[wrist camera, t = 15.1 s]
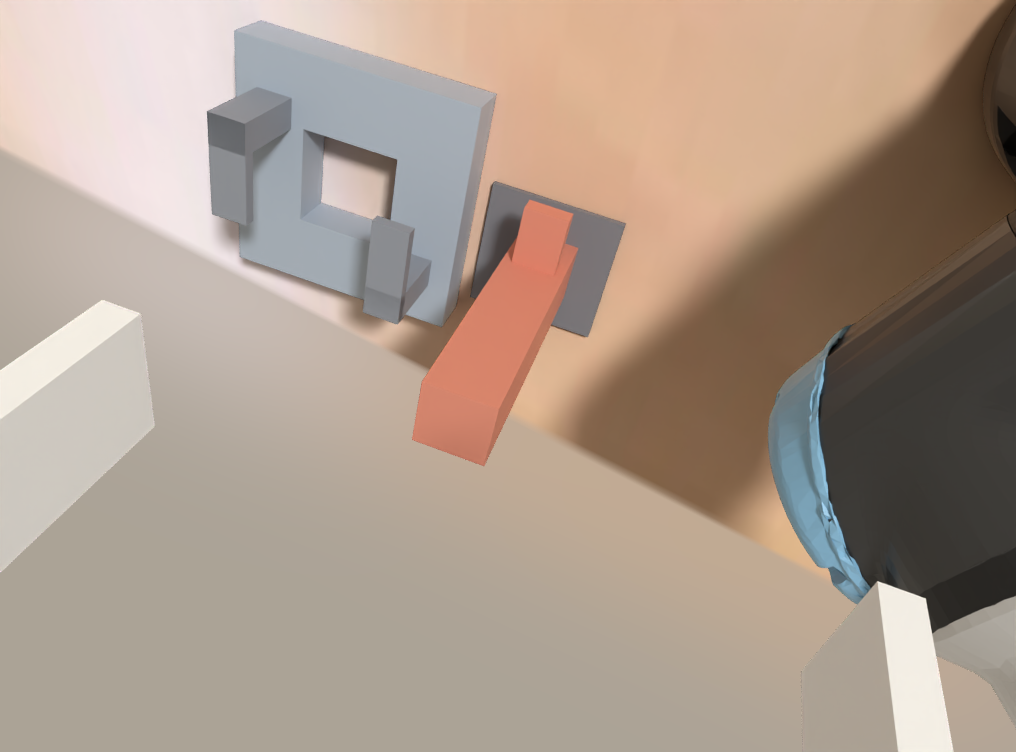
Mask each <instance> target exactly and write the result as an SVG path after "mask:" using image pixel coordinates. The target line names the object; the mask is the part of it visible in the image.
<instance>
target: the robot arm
mask: <svg viewBox="0 0 1016 752" xmlns="http://www.w3.org/2000/svg"><path fill="white" fill-rule="evenodd" d="M983 114H984V122H985V126H986V131H987V134H988V137H989V140H990V142H991V145H992V147H993V149H994V151H995V153H996V155H997V156H998V158H999V160H1000V161H1001V163H1002V164H1003V166H1004V167H1005V169H1006V170H1007V172H1008V173H1009V175H1010V176H1011V177H1012V179H1013V180H1014V181H1015V182H1016V5H1015V7H1014V8H1013V10H1012V11H1011V13H1010V15H1009V16H1008V18H1007V20H1006V22H1005V23H1004V25H1003V27H1002V29H1001V31H1000V33H999V35H998V38H997V40H996V42H995V44H994V47H993V50H992V52H991V55H990V59H989V62H988V66H987V70H986V74H985V80H984V87H983ZM154 426H155V424H154V416H153V408H152V400H151V392H150V385H149V376H148V369H147V360H146V352H145V344H144V336H143V329H142V320H141V314H140V313H137V312H135V311H132V310H129V309H126V308H124V307H121V306H118V305H115V304H112V303H110V302H107V301H104V300H101V301H100V302H99V303H97V304H96V305H94V306H93V307H91V308H90V309H88V310H87V311H85V313H83V314H81V315H80V316H78V317H77V318H75V319H74V320H73V321H71V322H69V323H68V324H67V325H65V326H64V327H62V328H61V329H59V330H58V331H57V332H55V333H54V334H52V335H51V336H49V337H48V338H46V339H45V340H43V341H42V342H41V343H39V344H38V345H36V346H35V347H33V348H32V349H30V350H29V351H27V352H26V353H25V354H23V355H22V356H20V357H19V358H17V359H16V360H14V361H13V362H12V363H10V364H9V365H7V366H6V367H4V368H3V369H1V370H0V572H1V571H3V570H4V569H5V568H6V567H7V566H8V565H9V564H10V563H11V562H12V561H13V560H14V559H15V558H16V557H17V556H18V555H19V554H20V553H21V552H22V551H24V550H25V548H27V547H28V546H29V545H30V544H31V543H32V542H33V541H34V540H35V539H36V538H37V537H38V536H39V535H40V534H42V533H43V532H44V531H45V530H46V529H47V528H48V527H49V526H50V525H51V524H52V523H53V522H54V521H55V520H56V519H57V518H58V517H59V516H61V515H62V514H63V513H64V512H65V511H66V510H67V509H68V508H69V507H70V506H71V505H72V504H73V503H74V502H75V501H76V500H77V499H78V498H79V497H80V496H81V495H83V494H84V493H85V492H86V491H87V490H88V489H89V488H90V487H91V486H92V485H93V484H94V483H95V482H96V481H97V480H98V479H99V478H101V477H102V476H103V475H104V474H105V472H107V471H108V470H109V469H110V468H111V467H112V466H113V465H114V464H115V463H116V462H117V461H118V460H120V458H122V456H124V455H125V454H126V453H127V452H128V451H129V450H130V449H131V448H132V447H133V446H134V445H135V444H136V443H137V442H139V441H140V439H142V438H143V437H144V436H145V435H146V434H147V433H148V432H149V431H150V430H151V429H152V428H153V427H154ZM768 449H769V457H770V464H771V469H772V473H773V477H774V481H775V484H776V487H777V491H778V494H779V496H780V499H781V502H782V505H783V507H784V510H785V512H786V514H787V517H788V519H789V521H790V523H791V525H792V527H793V529H794V531H795V533H796V534H797V536H798V538H799V540H800V542H801V543H802V545H803V546H804V548H805V550H806V551H807V553H808V554H809V555H810V557H811V558H812V559H813V561H814V562H815V564H816V565H817V566H818V567H821V568H828V569H829V572H830V575H831V580H832V583H833V585H834V586H835V587H836V588H837V589H838V590H839V591H840V592H841V593H842V594H844V595H845V596H846V597H847V598H848V599H850V600H851V601H852V602H854V603H856V604H857V606H856V607H855V608H854V609H853V611H852V612H851V613H850V614H849V615H848V616H847V618H846V619H845V620H844V621H843V622H842V624H841V625H840V626H839V627H838V628H837V629H836V631H835V632H834V633H833V634H832V635H831V637H830V638H829V639H828V640H827V641H826V643H825V644H824V645H823V646H822V647H821V648H820V650H819V651H818V652H817V653H816V654H815V656H814V657H813V658H812V659H811V660H810V661H809V663H808V664H807V665H806V666H805V668H804V669H803V670H802V671H801V690H802V691H801V693H802V745H803V752H953V746H952V741H951V735H950V730H949V724H948V719H947V713H946V709H945V702H944V697H943V692H942V686H941V680H940V675H939V670H938V664H937V658H936V656H937V657H940V658H942V659H944V660H946V661H949V662H951V663H953V664H956V665H958V666H960V667H962V668H965V669H967V670H969V671H972V672H974V673H975V674H977V675H978V676H980V677H981V678H982V679H984V680H985V681H987V682H988V683H989V684H991V686H992V688H993V690H994V691H995V693H996V695H997V696H998V698H999V700H1000V702H1001V703H1002V705H1003V707H1004V709H1005V710H1006V712H1007V714H1008V716H1009V717H1010V719H1011V721H1012V722H1013V724H1014V726H1015V728H1016V210H1015V211H1013V212H1012V213H1010V214H1008V215H1007V216H1005V217H1004V218H1003V219H1001V220H1000V221H998V222H997V223H996V224H994V225H993V226H991V227H990V228H989V229H987V230H986V231H984V232H983V233H982V234H980V235H979V236H977V237H976V238H975V239H973V240H972V241H970V242H969V243H968V244H966V245H965V246H963V247H962V248H961V249H959V250H958V251H956V252H955V253H954V254H952V255H951V256H949V257H948V258H947V259H945V260H944V261H942V262H941V263H940V264H938V265H937V266H935V267H934V268H933V269H931V270H930V271H928V272H927V273H926V274H924V275H923V276H921V277H920V278H919V279H917V280H916V281H914V282H913V283H912V284H910V285H909V286H907V287H906V288H905V289H903V290H902V291H900V292H899V293H898V294H896V295H895V296H893V297H892V298H891V299H889V300H888V301H886V302H885V303H884V304H882V305H881V306H879V307H878V308H877V309H875V310H874V311H872V312H871V313H869V314H868V315H867V316H865V317H864V318H862V319H861V320H860V321H858V322H857V323H855V324H853V325H849V326H845V327H844V328H842V329H841V330H840V331H838V332H837V333H836V334H835V335H834V336H833V337H832V338H831V339H830V340H829V341H828V343H827V344H826V346H825V348H824V349H823V350H822V351H821V352H819V353H818V354H817V355H816V356H814V357H813V358H812V359H811V360H809V361H808V362H807V363H806V364H804V365H803V366H802V367H801V368H799V369H798V370H797V371H796V372H794V373H793V374H792V375H791V376H790V377H789V378H788V379H787V380H786V381H785V383H784V384H783V385H782V387H781V388H780V390H779V391H778V393H777V396H776V400H775V405H774V407H773V409H772V412H771V414H770V418H769V425H768Z"/></svg>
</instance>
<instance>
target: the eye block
mask: <svg viewBox="0 0 1016 752" xmlns="http://www.w3.org/2000/svg"><path fill="white" fill-rule="evenodd" d="M234 39H235V80H236V97H235V98H233V99H231V100H229V101H227V102H225V103H223V104H221V105H219V106H217V107H215V108H213V109H211V110H209V111H207V122H208V143H209V163H210V184H211V204H212V214H213V215H216V216H219V217H222V218H225V219H228V220H231V221H234V222H237V223H239V245H240V257H242V258H245V259H248V260H250V261H253V262H256V263H259V264H262V265H265V266H268V267H271V268H273V269H276V270H279V271H282V272H285V273H288V274H291V275H293V276H296V277H299V278H302V279H305V280H308V281H311V282H314V283H316V284H319V285H322V286H325V287H328V288H331V289H334V290H336V291H339V292H342V293H345V294H348V295H351V296H354V297H357V298H359V299H362V300H364V306H363V313H366V314H369V315H372V316H375V317H377V318H380V319H383V320H386V321H389V322H392V323H395V324H398V323H399V322H400V321H401V319H402V318H403V317H404V316H405V315H408V316H411V317H414V318H417V319H420V320H423V321H425V322H428V323H431V324H434V325H437V326H440V327H442V326H443V325H444V323H445V322H446V320H447V319H448V318H449V316H450V315H451V313H452V312H453V310H454V309H455V307H456V304H457V299H458V294H459V288H460V283H461V278H462V273H463V268H464V262H465V257H466V252H467V247H468V241H469V236H470V231H471V226H472V220H473V215H474V210H475V205H476V200H477V194H478V189H479V184H480V179H481V173H482V168H483V163H484V158H485V152H486V147H487V142H488V137H489V132H490V126H491V121H492V116H493V111H494V105H495V100H496V95H497V94H495V93H492V92H489V91H486V90H482V89H479V88H476V87H473V86H470V85H466V84H463V83H460V82H457V81H453V80H450V79H447V78H444V77H441V76H437V75H434V74H431V73H428V72H425V71H421V70H418V69H415V68H412V67H409V66H405V65H402V64H399V63H396V62H392V61H389V60H386V59H383V58H380V57H376V56H373V55H370V54H367V53H364V52H360V51H357V50H354V49H351V48H348V47H344V46H341V45H338V44H335V43H332V42H328V41H325V40H322V39H319V38H315V37H312V36H309V35H306V34H303V33H299V32H296V31H293V30H290V29H287V28H283V27H280V26H277V25H274V24H271V23H267V22H264V21H258V22H256V23H253V24H250V25H247V26H245V27H242V28H239V29H236V30H234ZM324 136H326V137H329V138H332V139H335V140H339V141H342V142H345V143H348V144H351V145H354V146H357V147H360V148H363V149H366V150H369V151H372V152H375V153H378V154H381V155H385V156H388V157H391V158H394V159H397V168H396V177H395V185H394V194H393V203H392V211H391V220H389V219H386V218H383V217H380V216H377V217H376V218H375V219H374V220H371V219H368V218H365V217H362V216H359V215H356V214H353V213H350V212H347V211H344V210H341V209H338V208H335V207H332V206H329V205H326V204H323V203H321V194H322V174H323V154H324Z"/></svg>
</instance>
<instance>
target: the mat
mask: <svg viewBox="0 0 1016 752" xmlns="http://www.w3.org/2000/svg"><path fill="white" fill-rule="evenodd" d="M529 200H532V201H536V202H539V203H542V204H545V205H548V206H551V207H554V208H557V209H560V210H563V211H566V212H569V213H572V214H573V218H572V221H571V225H570V228H569V232H568V235H567V239H566V243H565V244H568V245H571V246H574V247H577V248H578V251H577V255H576V258H575V262H574V265H573V268H572V272H571V275H570V278H569V282H568V285H567V289H566V292H565V295H564V298H563V300H562V302H561V305H560V307H559V309H558V311H557V313H556V315H555V317H554V319H553V322H552V324H551V325H554V326H557V327H559V328H562V329H565V330H568V331H571V332H574V333H577V334H580V335H583V336H586V337H588V335H589V332H590V329H591V326H592V323H593V320H594V317H595V314H596V311H597V308H598V305H599V302H600V299H601V296H602V293H603V290H604V287H605V284H606V281H607V278H608V275H609V272H610V269H611V266H612V263H613V260H614V257H615V254H616V251H617V248H618V245H619V242H620V239H621V236H622V233H623V230H624V227H625V223H622V222H619V221H616V220H613V219H610V218H607V217H604V216H601V215H598V214H595V213H592V212H588V211H585V210H582V209H579V208H576V207H573V206H570V205H567V204H564V203H561V202H558V201H555V200H552V199H548V198H545V197H542V196H539V195H536V194H533V193H530V192H527V191H524V190H521V189H518V188H515V187H511V186H508V185H505V184H502V183H499V182H496V181H495V182H494V183H493V187H492V192H491V197H490V202H489V207H488V212H487V217H486V222H485V227H484V232H483V236H482V241H481V246H480V251H479V256H478V261H477V266H476V271H475V276H474V281H473V286H472V291H471V295H470V297H472V298H475V299H477V297H478V295H479V294H480V292H481V291H482V289H483V288H484V286H485V285H486V283H487V282H488V280H489V279H490V277H491V276H492V274H493V273H494V271H495V270H496V268H497V267H498V265H499V263H500V262H501V260H502V259H503V257H504V256H505V254H506V253H507V251H508V250H509V248H510V247H511V245H512V244H513V242H514V241H515V239H516V238H517V236H518V232H519V228H520V224H521V220H522V215H523V211H524V207H525V206H526V204H527V203H528V201H529Z"/></svg>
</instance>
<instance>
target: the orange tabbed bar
mask: <svg viewBox="0 0 1016 752" xmlns="http://www.w3.org/2000/svg"><path fill="white" fill-rule="evenodd" d="M572 218H573V214H572V213H569V212H566V211H563V210H560V209H557V208H554V207H551V206H548V205H545V204H542V203H539V202H536V201H532V200H529V201H528V203H527V204H526V206H525V207H524V211H523V215H522V220H521V224H520V228H519V232H518V236H517V238H516V239H515V241H514V242H513V244H512V245H511V247H510V248H509V250H508V251H507V253H506V254H505V256H504V257H503V259H502V260H501V262H500V263H499V265H498V267H497V268H496V270H495V271H494V273H493V274H492V276H491V277H490V279H489V280H488V282H487V283H486V285H485V286H484V288H483V289H482V291H481V292H480V294H479V295H478V297H477V299H476V300H475V302H474V303H473V305H472V306H471V308H470V309H469V311H468V312H467V314H466V315H465V317H464V318H463V320H462V321H461V323H460V324H459V326H458V327H457V329H456V330H455V332H454V334H453V335H452V337H451V338H450V340H449V341H448V343H447V344H446V346H445V347H444V349H443V350H442V352H441V353H440V355H439V356H438V358H437V359H436V361H435V362H434V364H433V365H432V367H431V369H430V370H429V372H428V373H427V375H426V376H425V378H424V379H423V381H422V384H421V390H420V396H419V402H418V408H417V414H416V419H415V425H414V431H413V437H412V440H414V441H417V442H419V443H422V444H425V445H427V446H430V447H433V448H436V449H438V450H441V451H444V452H447V453H449V454H452V455H455V456H458V457H460V458H463V459H466V460H468V461H471V462H474V463H477V464H479V465H482V466H484V465H485V463H486V461H487V459H488V457H489V455H490V453H491V450H492V448H493V446H494V444H495V442H496V440H497V438H498V435H499V434H500V432H501V429H502V427H503V425H504V423H505V421H506V419H507V417H508V415H509V413H510V410H511V408H512V406H513V404H514V402H515V400H516V398H517V396H518V393H519V391H520V389H521V387H522V385H523V383H524V381H525V379H526V377H527V374H528V372H529V370H530V368H531V366H532V364H533V362H534V360H535V358H536V355H537V353H538V351H539V349H540V347H541V345H542V343H543V341H544V338H545V336H546V334H547V332H548V330H549V328H550V326H551V324H552V322H553V319H554V317H555V315H556V313H557V311H558V309H559V307H560V305H561V302H562V300H563V298H564V295H565V292H566V289H567V285H568V282H569V278H570V275H571V272H572V268H573V265H574V262H575V258H576V255H577V251H578V248H577V247H574V246H571V245H568V244H565V243H566V239H567V235H568V232H569V228H570V225H571V221H572Z"/></svg>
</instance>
